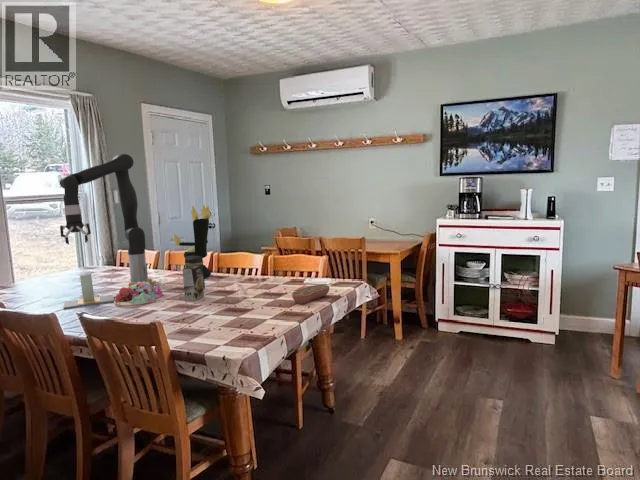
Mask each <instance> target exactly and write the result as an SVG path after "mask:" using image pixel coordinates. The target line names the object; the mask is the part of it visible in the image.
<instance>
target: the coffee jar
mask: <svg viewBox="0 0 640 480" xmlns="http://www.w3.org/2000/svg"><path fill="white" fill-rule="evenodd" d="M184 264H185V268H186V267H189V266H202V274H203V265H204V258H202V257H201V256H194V255H192V256H186V258H185V257H184ZM203 287H204V289H206V283H205V278H204V275H203Z"/></svg>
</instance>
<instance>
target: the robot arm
mask: <svg viewBox="0 0 640 480" xmlns="http://www.w3.org/2000/svg"><path fill="white" fill-rule="evenodd" d="M133 166H134V159H133V157H132V156H131V155H129V154H126V153H120V154H117V155H115V156H114V157H113V158H112V160H110V161H107V162H104V163H102V164H101V163H100V164H97V165H93V166H90V167H88V168H85V169H82V170H80V171H77V172H75V173H72V174H67V175H65V176H63V177H61V178H60V180H59V185H60V187H61V188H62V189H64V195H63V204H64V215H65V222H66V224H65V225H62V224H61V225H60V226H59V229H60V231H59V232H60V237H61V238H64V239H65V244H66V245H70V243H69V235H70V234H71V233H73V234H74V233H82V234H83V235H84V243H85V244H86V243H88V241H89V238H88V237H89V235H90V234H92V232H91V228H90V227H91V226H90V223H89V222H87V223H84V222H83V219H82V217H83V216H82V210H81V209H82V208H81V206H80V201H79V186H81V185H85V184H88V183H91V182H93V181H97V180H98V179H101V178H102V177H105V176H108V175H111V174H113V173H114V174H115V178H116V183H117V189H118V198H119V203H120V208H121V212H122V217H123V223H124V224H123V225H124V226H123V227H124V236H125V238H126V240H127V241H128V250H127V254H128V255H127V257H128V263H129V264H128V266H129V275H130V282H135V283H137V282H143V281H145V282H147V279H149V277H148V267H147V260H146V235H145V231H144V229H143V228H141V227H139V223H138V222H139V221H138V216H137V215H138V197H137V193H136V190H135V187H134V185H133V183H132V182H131V179H130V174H129V170H130V169H131V168H133ZM83 227H85V228H86V229H87V232H86V231H85V230H84V229H83ZM65 229H67V230H68V231H67V232H66V234H64V230H65Z"/></svg>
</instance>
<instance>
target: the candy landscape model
mask: <svg viewBox="0 0 640 480" xmlns="http://www.w3.org/2000/svg"><path fill="white" fill-rule="evenodd" d="M161 288H162V287H161V282H157V286H156V280H152V278H150V277H148V279H147V282H145V281H143V282H137V283H135V282H131V281H130V282H128V287H121V288H119V290H118V292H119V293H118V294H116V296H113V298H114V302H113V304H114V306H117V307H119V306H120V307H127V306H139V305H143V304H144V305H145V304H148V303H153V302H155V300H156V299H158V298H161V297H163V296H164V294H163V290H162V289H161Z"/></svg>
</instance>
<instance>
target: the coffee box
mask: <svg viewBox="0 0 640 480" xmlns="http://www.w3.org/2000/svg"><path fill="white" fill-rule="evenodd" d="M182 279H183V293H184V301H186V302H197V301H198V300H200V299H202V298H204V297H205V288H204V287H203V274H202V266H189V267H186V266H185V267H184V268H182Z"/></svg>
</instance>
